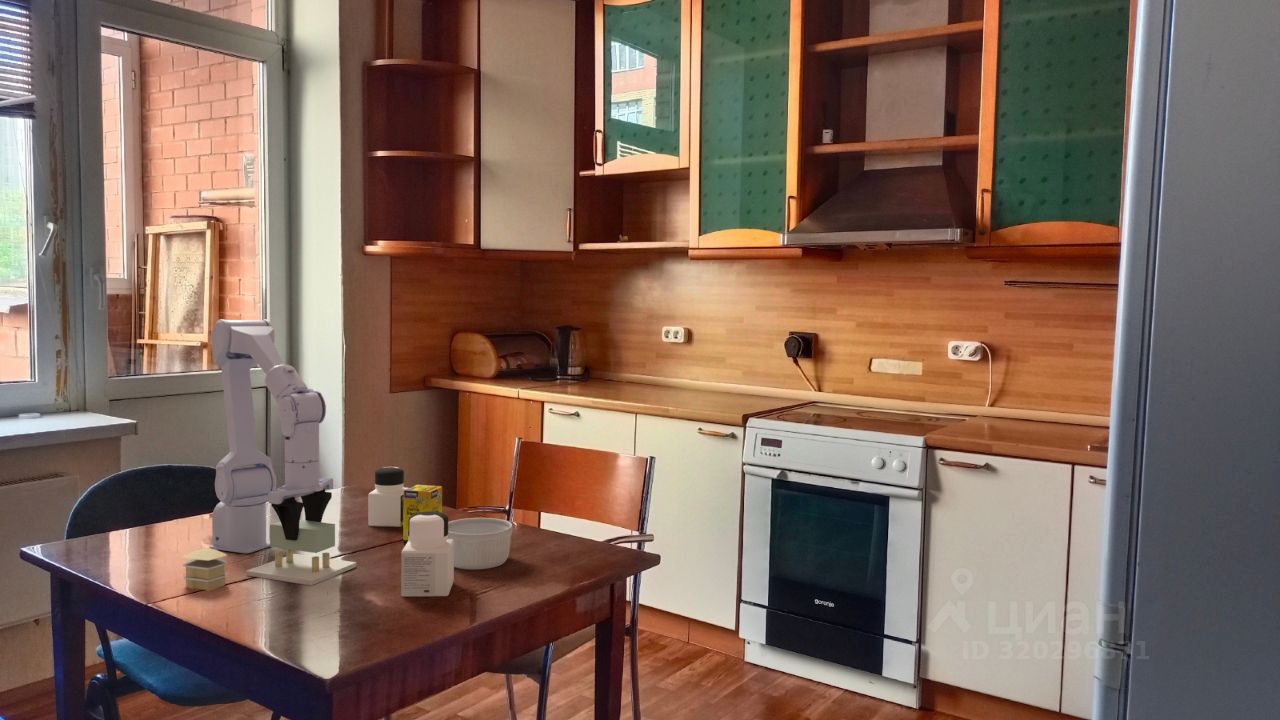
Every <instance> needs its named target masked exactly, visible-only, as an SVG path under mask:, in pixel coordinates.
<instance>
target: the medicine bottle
mask: <svg viewBox="0 0 1280 720" xmlns="http://www.w3.org/2000/svg"><path fill="white" fill-rule="evenodd" d="M404 473H405V470H403V468H401V467H397V466H386V467H385V466H382V467H380V468H377V469H376V470H375V471H374V488H375V489H374V490H372V491H370V492H369V493H368V494H367V495H368V501H367V502H368V506H367V507H368V519H367V522H368V526H369V527H388V528H389V527H393V528H395V527H396V528H401V527H403V510H404V490H405V489H409V488H410V487H405V486H404V485H405V481H404V480H405V479H404V478H405V474H404Z"/></svg>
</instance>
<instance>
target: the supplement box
mask: <svg viewBox="0 0 1280 720" xmlns="http://www.w3.org/2000/svg"><path fill="white" fill-rule="evenodd" d="M408 488H409V489H405V490H404V510H403V525H402V528H403V531H402V533H403V534H402V544H405V545H406V544H407V542H408V541H409V540H408V519H409V518H410V516H412V515H414V514H416V513H419V512H425V511H435V512H441V513H443V486H441V485H426V484H415V485H414V486H411V487H408Z"/></svg>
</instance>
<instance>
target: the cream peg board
mask: <svg viewBox="0 0 1280 720" xmlns="http://www.w3.org/2000/svg"><path fill="white" fill-rule="evenodd" d="M321 556H322V557H320V556H314V555H313V556H312V555H307V554H306V555H305V554H297V553H294V550H291V549H285V556H284V557H283V550H281V551H280V550H278V551H277V550H276V551H274V560H272V561H270V562H267V563H264V564H262V565H258V566H256V567H252V568H250V569H248V570H246V571H245V576H248V577H254V578H261V579H268V580H275V581H281V582H287V583H293V584H299V585H301V584H302V585H306V586H314V585H316V584H318V583H321V582H324V581H326V580H327V579H331V578H332V577H335V576H337V575H340V574H342V573H345V572H347V571H349V570H351V569H354V568H357V562H355V561H350V560H349V561H348V560H343V559H342V560H341V559H335V558H330V556H331V555H330V552H322V555H321Z"/></svg>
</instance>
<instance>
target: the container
mask: <svg viewBox="0 0 1280 720" xmlns="http://www.w3.org/2000/svg"><path fill="white" fill-rule="evenodd" d="M448 522H449V517H448V515H447V514H445V513H443V512H442V513H441V512H435V511H425V512H419V513H416V514H414V515H412V516H410V518H409V519H408V540H409V541H408V542H407V544H405V546H404V547H403V548H402V550H401V555H400V556H401V566H400V567H401V568H400V571H401V572H400V573H401V575H400V577H401V578H400V583H401V584H400V585H401V586H400V587H401V588H400V589H401V590H400V591H401V593H400V594H401V597H448V596H449V594H450V592H451V589H452V586H453V584H454V581H455V580H454V579H455V578H454V577H455V574H454V573H455V567H454V540H453V539H448Z"/></svg>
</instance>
